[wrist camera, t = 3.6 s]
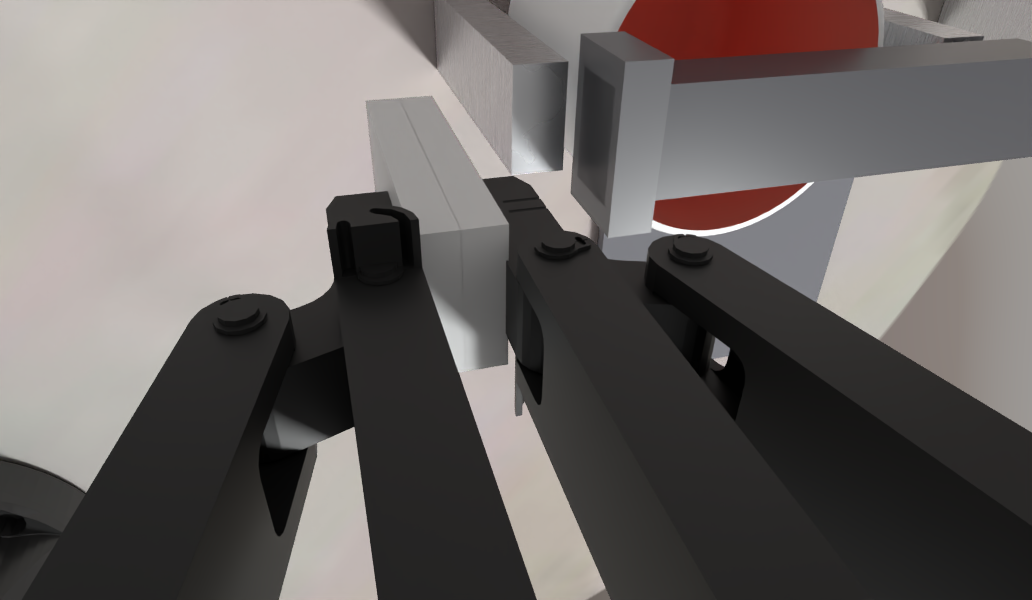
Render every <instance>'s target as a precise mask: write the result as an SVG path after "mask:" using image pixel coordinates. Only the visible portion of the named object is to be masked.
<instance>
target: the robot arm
mask: <svg viewBox="0 0 1032 600" xmlns="http://www.w3.org/2000/svg"><path fill="white" fill-rule="evenodd" d="M366 109H367V118H368V128H369V137H370V146H371V155H372V165H373V174H374V183H375V192H373V193H363V194H354V195H344V196H335V198H334V199H333V201H332V202H331V203H330V205H329V206H328V207H327V209H326V213H327V221H328V228H327V234H328V240H329V247H330V253H331V260H332V266H333V273H334V282H333V284H332V286H331V288H330V289H329V290H328V291H327V292H326V293H325V294H324V295H323V296H321V297H320V298H318V299H316V300H315V301H313V302H311V303H308V304H306V305H304V306H301V307H298V308H295V309H292V310H290V309H289V307H288V306H287V305H286V304H285V303H284V301H283V300H281V299H278V298H276V297H273V296H271V295H264V294H254V293H252V294H243V295H240V294H239V295H233V296H229V297H228V298H227V297H226V298H223V299H220V300H218V301H216V302H214V303H212V304H210V305H208V306H207V307H205V308H203V309H201V310H200V311H199V312H198V313H197V314H196V315H195V316H194V317H193V318H192V320H191V321H190V322H189V324H188V326H187V327H186V329H185V331H184V332H183V334H182V336H181V337H180V339H179V341H178V342H177V344H176V345H175V347H174V349H173V350H172V352H171V354H170V355H169V357H168V359H167V360H166V362H165V364H164V365H163V367H162V369H161V370H160V372H159V374H158V375H157V377H156V379H155V380H154V382H153V383H152V385H151V387H150V388H149V390H148V392H147V393H146V395H145V397H144V398H143V400H142V402H141V403H140V405H139V407H138V408H137V410H136V412H135V413H134V415H133V417H132V418H131V420H130V421H129V423H128V425H127V426H126V428H125V430H124V431H123V433H122V435H121V436H120V438H119V440H118V441H117V443H116V445H115V446H114V448H113V450H112V451H111V453H110V455H109V456H108V458H107V459H106V461H105V463H104V464H103V466H102V468H101V469H100V471H99V473H98V474H97V476H96V478H95V479H94V481H93V483H92V484H91V486H90V488H89V489H88V491H87V493H86V494H85V493H83V492H81V491H80V490H78V489H77V488H75V487H73V486H71V485H70V484H68V483H66V482H64V481H62V480H60V479H57V478H55V477H53V476H51V475H48V474H45V473H43V472H40V471H37V470H34V469H31V468H28V467H25V466H21V465H18V464H14V463H9V462H5V461H0V600H279V597H280V593H281V589H282V585H283V582H284V578H285V574H286V570H287V567H288V563H289V559H290V555H291V552H292V548H293V544H294V540H295V537H296V533H297V529H298V525H299V522H300V518H301V514H302V510H303V507H304V503H305V499H306V495H307V492H308V488H309V484H310V480H311V477H312V473H313V469H314V465H315V462H316V458H317V443H318V442H320V441H323V440H325V439H327V438H330V437H332V436H334V435H336V434H339V433H341V432H343V431H345V430H348V429H350V428H352V427H355V434H356V441H357V448H358V456H359V463H360V470H361V478H362V485H363V492H364V500H365V507H366V514H367V522H368V529H369V537H370V544H371V551H372V559H373V566H374V573H375V581H376V588H377V595H378V600H537V599H536V596H535V593H534V590H533V587H532V584H531V581H530V579H529V576H528V573H527V570H526V567H525V564H524V561H523V558H522V555H521V552H520V550H519V547H518V544H517V541H516V538H515V535H514V532H513V529H512V526H511V523H510V520H509V518H508V515H507V512H506V509H505V506H504V503H503V500H502V497H501V494H500V491H499V489H498V486H497V483H496V480H495V477H494V474H493V471H492V468H491V465H490V462H489V459H488V457H487V454H486V451H485V448H484V445H483V442H482V439H481V436H480V433H479V430H478V428H477V425H476V422H475V419H474V416H473V413H472V410H471V407H470V404H469V401H468V398H467V396H466V393H465V390H464V387H463V384H462V381H461V378H460V375H459V372H465V371H471V370H477V369H483V368H489V367H494V366H500V365H506V364H508V339H509V342H510V344H511V346H512V348H513V350H514V352H515V355H516V356H515V414H516V416H520V415H522V404H523V403H524V401H525V403H526V405H527V408H528V410H529V412H530V415H531V417H532V419H533V422H534V424H535V426H536V428H537V431H538V433H539V435H540V438H541V440H542V442H543V445H544V447H545V449H546V451H547V454H548V456H549V458H550V461H551V463H552V465H553V468H554V470H555V472H556V474H557V477H558V479H559V481H560V484H561V486H562V488H563V491H564V493H565V495H566V497H567V500H568V502H569V504H570V507H571V509H572V511H573V514H574V516H575V518H576V520H577V523H578V525H579V527H580V530H581V532H582V534H583V537H584V539H585V541H586V543H587V546H588V548H589V550H590V553H591V555H592V557H593V560H594V562H595V564H596V566H597V569H598V571H599V573H600V576H601V578H602V580H603V583H604V585H605V587H606V589H607V591H608V594H609V596H610V599H611V600H1032V433H1031V432H1030V431H1028V430H1027V429H1025V428H1023V427H1021V426H1020V425H1018V424H1017V423H1015V422H1013V421H1012V420H1010V419H1008V418H1007V417H1005V416H1003V415H1002V414H1000V413H998V412H997V411H995V410H993V409H992V408H990V407H988V406H987V405H985V404H983V403H982V402H980V401H979V400H977V399H975V398H973V397H972V396H970V395H969V394H967V393H965V392H964V391H962V390H960V389H959V388H957V387H955V386H954V385H952V384H950V383H949V382H947V381H945V380H944V379H942V378H940V377H939V376H937V375H935V374H934V373H932V372H931V371H929V370H927V369H926V368H924V367H922V366H921V365H919V364H917V363H916V362H914V361H912V360H911V359H909V358H907V357H906V356H904V355H902V354H901V353H899V352H897V351H896V350H894V349H892V348H891V347H889V346H888V345H886V344H884V343H882V342H881V341H879V340H878V339H876V338H874V337H873V336H871V335H869V334H868V333H866V332H864V331H863V330H861V329H859V328H858V327H856V326H854V325H853V324H851V323H850V322H848V321H846V320H845V319H843V318H841V317H840V316H838V315H836V314H835V313H833V312H831V311H830V310H828V309H826V308H825V307H823V306H821V305H820V304H818V303H816V302H815V301H813V300H811V299H810V298H808V297H807V296H805V295H803V294H802V293H800V292H798V291H797V290H795V289H793V288H792V287H790V286H788V285H787V284H785V283H783V282H782V281H780V280H778V279H777V278H775V277H773V276H772V275H770V274H768V273H767V272H765V271H764V270H762V269H760V268H759V267H757V266H755V265H754V264H752V263H750V262H749V261H747V260H745V259H744V258H742V257H740V256H739V255H737V254H735V253H734V252H732V251H730V250H729V249H727V248H725V247H724V246H722V245H720V244H718V243H716V242H714V241H711V240H709V239H706V238H702V237H698V236H696V235H692V234H686V235H684V234H675V235H671V236H664V237H661V238H659V239H657V240H655V241H653V242H652V243H651V245H650V246H649V248H648V252H647V259H646V261H625V260H613V259H608V258H607V257H606V256H605V255H604V253H603V252H602V251H601V250H600V248H599V247H598V246H597V244H596V243H594V242H593V241H592V240H591V239H589V238H588V237H586V236H583V235H581V234H578V233H575V232H569V231H564V230H563V229H562V228H561V226H560V225H559V224H558V222H557V221H556V219H555V218H554V217H553V215H552V214H551V213H550V211H549V210H548V209H546V206H545V204H544V203H543V202H542V200H541V199H539V196H538V195H537V193H536V192H535V191H534V189H533V188H532V187H531V185H529V184H527V183H525V182H524V181H522V180H520V179H518V178H516V177H514V176H508V177H499V178H489V179H482V178H481V177H480V175H479V173H478V172H477V170H476V168H475V167H474V165H473V163H472V162H471V160H470V158H469V157H468V155H467V153H466V152H465V150H464V148H463V147H462V145H461V143H460V142H459V140H458V138H457V137H456V135H455V133H454V132H453V130H452V128H451V127H450V125H449V123H448V122H447V120H446V118H445V117H444V115H443V113H442V112H441V110H440V108H439V107H438V105H437V103H436V102H435V100H434V98H433V97H432V96H424V97H411V98H397V99H383V100H370V101H366ZM715 338H717V339H718V340H720V341H721V342H722V343H724V344H725V345H726V346H728V347H729V348H730V351H729V356H728V360H727V363H726V366H725V367H724V366H722V365H720V364H718V363H717V362H716V361H714V360H713V359H712V358H711V357H712V353H713V348H714V343H715Z"/></svg>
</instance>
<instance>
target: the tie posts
mask: <svg viewBox="0 0 1032 600" xmlns="http://www.w3.org/2000/svg"><path fill="white" fill-rule="evenodd" d="M434 13H435V34H436V56H437V70H438V72H439V73H440V75H441V76H442V77H443V79H444V80H445V82H446V83H447V85H448V86H449V87H450V89H451V90H452V92H453V93H454V94H455V96H456V97H457V99H458V100H459V102H460V103H461V104H462V106H463V107H464V109H465V110H466V111H467V113H468V114H469V116H470V117H471V119H472V120H473V121H474V123H475V124H476V126H477V127H478V128H479V130H480V131H481V133H482V134H483V136H484V137H485V138H486V140H487V141H488V143H489V144H490V145H491V147H492V148H493V150H494V151H495V153H496V154H497V155H498V157H499V158H500V160H501V161H502V162H503V164H504V165H505V167H506V168H507V170H508V171H509V172H510V174H511V175H519V174H529V173H539V172H549V171H559V170H563V153H564V135H565V117H566V99H567V81H568V63H569V61H567V60H566V59H565V58H563V57H562V56H561V55H559V54H558V53H557V52H555V51H554V50H553V49H551V48H550V47H549V46H547V45H546V44H545V43H544V42H542V41H541V40H540V39H538V38H537V37H536V36H534V35H533V34H532V33H530V32H529V31H528V30H526V29H525V28H524V27H522V26H521V25H520V24H518V23H517V22H516V21H514V20H513V19H512V18H510V17H509V16H508V15H506V14H505V13H504V12H503V11H501V10H500V9H499V8H497V7H496V6H495V5H493V4H492V3H491V2H489V1H488V0H434ZM1013 38H1019V39H1023V40H1026V41H1030V42H1032V0H945V2H944V5H943V8H942V11H941V14H940V17H939V20H938V23H937V22H933V21H930V20H926V19H923V18H919V17H915V16H912V15H908V14H904V13H901V12H897V11H894V10H890V9H886V8H884V40H883V47H888V46H904V45H920V44H935V43H951V42H966V41H982V40H998V39H1013Z"/></svg>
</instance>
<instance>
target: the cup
mask: <svg viewBox="0 0 1032 600" xmlns="http://www.w3.org/2000/svg"><path fill="white" fill-rule="evenodd" d="M508 16H509V17H510V18H512V19H513V20H514V21H516V22H517V23H518V24H520V25H521V26H522V27H524V28H525V29H526V30H528V31H529V32H530V33H532V34H533V35H534V36H536V37H537V38H538V39H540V40H541V41H542V42H544V43H545V44H546V45H547V46H549V47H550V48H551V49H553V50H554V51H555V52H557V53H558V54H559V55H561V56H562V57H563V58H565V59H566V60H567V61H569V63H568V81H567V99H566V117H565V135H564V148H565V149H566V150H567V151H568V152H569V153H570V154H571V156H572V157H573V149H574V133H575V117H576V101H577V85H578V69H579V54H580V38H581V34H582V33H602V32H621V31H625V32H627V33H628V34H630V35H632V36H634V37H636V38H638V39H639V40H641V41H643V42H645V43H647V44H648V45H650V46H652V47H654V48H656V49H658V50H659V51H661V52H663V53H665V54H667V55H669V56H670V57H672V58H674V59H675V60H685V59H701V58H716V57H732V56H747V55H763V54H779V53H794V52H810V51H826V50H841V49H857V48H873V47H883V40H884V8H883V2H882V0H510V6H509V11H508ZM813 183H814V182H811V183H802V184H793V185H785V186H776V187H768V188H759V189H751V190H742V191H734V192H725V193H716V194H708V195H699V196H691V197H682V198H674V199H665V200H656V201H655V206H654V214H653V221H652V228H653V229H655V230H658V231H662V232H665V233H669V234H674V235H675V234H684V235H686V234H692V235H696V236H709V235H717V234H722V233H727V232H730V231H734V230H737V229H740V228H743V227H746V226H749V225H751V224H753V223H755V222H758V221H760V220H762V219H764V218H766V217H768V216H770V215H771V214H773V213H775V212H776V211H778V210H780V209H781V208H783V207H784V206H786V205H787V204H789V203H790V202H791V201H793V200H794V199H795V198H797V197H798V196H799V195H800V194H802V193H803V192H804V191H805V190H806V189H807V188H808V187H809V186H811V185H812V184H813Z"/></svg>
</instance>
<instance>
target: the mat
mask: <svg viewBox="0 0 1032 600" xmlns="http://www.w3.org/2000/svg"><path fill="white" fill-rule="evenodd" d="M853 180H854V177H853V178H845V179H836V180H828V181H819V182H814V183H813V184H812V185H811V186H809V187H808V188H807V189H806V190H805V191H804V192H803V193H802V194H800V195H799V196H798V197H797V198H795V199H794V200H793V201H791V202H790V203H789V204H787V205H786V206H784V207H783V208H781V209H780V210H778V211H776V212H775V213H773V214H771V215H770V216H768V217H766V218H764V219H762V220H760V221H758V222H755V223H753V224H751V225H749V226H746V227H743V228H740V229H737V230H734V231H730V232H727V233H722V234H717V235H709V236H698V237H702V238H706V239H709V240H711V241H714V242H716V243H718V244H720V245H722V246H724V247H725V248H727V249H729V250H730V251H732V252H734V253H735V254H737V255H739V256H740V257H742V258H744V259H745V260H747V261H749V262H750V263H752V264H754V265H755V266H757V267H759V268H760V269H762V270H764V271H765V272H767V273H768V274H770V275H772V276H773V277H775V278H777V279H778V280H780V281H782V282H783V283H785V284H787V285H788V286H790V287H792V288H793V289H795V290H797V291H798V292H800V293H802V294H803V295H805V296H807V297H808V298H810V299H811V300H813V301H815V302H817V299H818V295H819V292H820V289H821V285H822V282H823V279H824V276H825V272H826V269H827V266H828V262H829V259H830V256H831V252H832V249H833V246H834V242H835V239H836V236H837V233H838V229H839V226H840V223H841V219H842V216H843V213H844V209H845V206H846V203H847V199H848V196H849V193H850V190H851V186H852V183H853ZM671 235H674V234H669V233H665V232H662V231H658V230H655V229H653V228H651V233H644V234H636V235H628V236H620V237H613V238H608V237H607V236H606V235H605V234H604V233H603V231H602V230H601V229H600V228H599V238H598V247H599V248H600V250H601V251H602V252H603V253H604V255H605V256H606V257H607V258H608V259H613V260H625V261H646V259H647V252H648V248H649V246H650V245H651V243H652V242H653V241H655V240H657V239H659V238H661V237H664V236H671ZM729 351H730V348H729V347H728V346H726V345H725V344H724V343H722V342H721V341H720V340H718V339H717V338H715V343H714V348H713V353H712V357H711V358H712V359H714V358H720V357H725V356H729Z"/></svg>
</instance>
